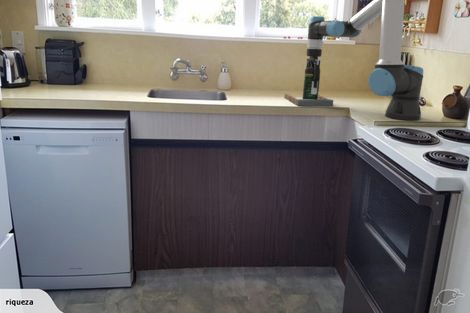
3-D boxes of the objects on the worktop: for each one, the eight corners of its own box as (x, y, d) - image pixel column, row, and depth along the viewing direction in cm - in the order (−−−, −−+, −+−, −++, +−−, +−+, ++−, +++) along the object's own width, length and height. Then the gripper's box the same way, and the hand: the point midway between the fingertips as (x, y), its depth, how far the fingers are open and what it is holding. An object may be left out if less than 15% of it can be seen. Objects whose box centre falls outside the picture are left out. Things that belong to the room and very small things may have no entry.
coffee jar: (317, 104, 218) (320, 67, 212) (301, 103, 219) (304, 66, 214) (318, 101, 227) (321, 66, 221) (303, 100, 228) (306, 65, 223)
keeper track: (331, 105, 218) (331, 100, 218) (296, 105, 216) (296, 100, 215) (315, 98, 241) (316, 93, 240) (284, 97, 238) (284, 93, 238)
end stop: (332, 106, 216) (333, 100, 215) (297, 106, 213) (298, 100, 212) (330, 105, 219) (331, 99, 218) (296, 104, 216) (296, 99, 215)
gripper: (329, 49, 205) (325, 96, 212) (314, 47, 226) (311, 89, 233) (314, 49, 204) (310, 95, 211) (300, 47, 225) (297, 89, 231)
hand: (310, 92), depth 222 cm, fingers closed on coffee jar, 9 cm apart
